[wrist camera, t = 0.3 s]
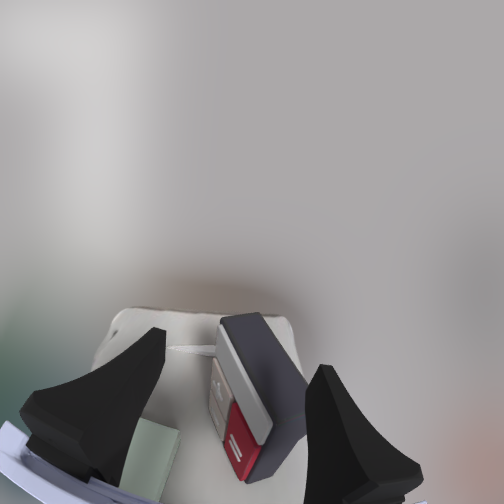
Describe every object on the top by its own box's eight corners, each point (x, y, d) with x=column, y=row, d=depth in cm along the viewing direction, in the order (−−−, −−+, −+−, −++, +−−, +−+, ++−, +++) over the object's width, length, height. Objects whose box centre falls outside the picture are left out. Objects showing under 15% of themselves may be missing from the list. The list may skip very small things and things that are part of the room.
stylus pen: (270, 350, 40) (272, 341, 39) (271, 364, 38) (273, 355, 37) (168, 344, 39) (167, 335, 38) (165, 357, 37) (164, 349, 36)
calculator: (205, 408, 30) (211, 316, 23) (239, 401, 31) (258, 309, 25) (239, 487, 21) (267, 429, 14) (277, 475, 22) (326, 408, 16)
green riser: (158, 507, 17) (153, 502, 16) (90, 478, 18) (81, 470, 16) (180, 441, 25) (179, 430, 24) (119, 419, 26) (114, 407, 24)
